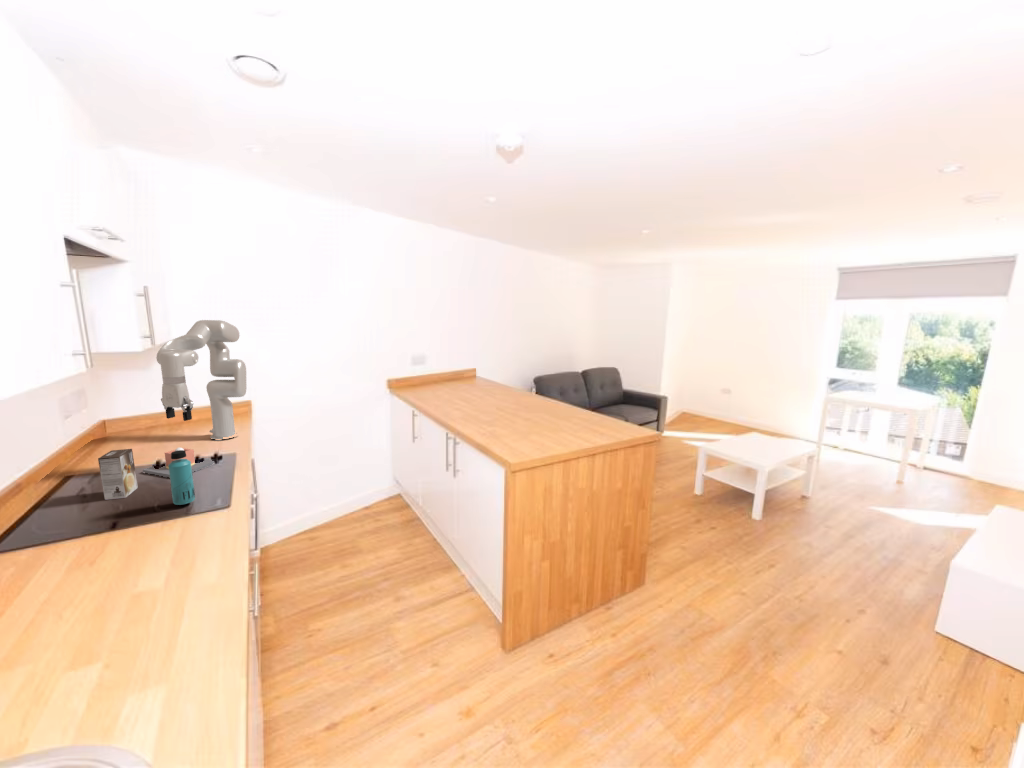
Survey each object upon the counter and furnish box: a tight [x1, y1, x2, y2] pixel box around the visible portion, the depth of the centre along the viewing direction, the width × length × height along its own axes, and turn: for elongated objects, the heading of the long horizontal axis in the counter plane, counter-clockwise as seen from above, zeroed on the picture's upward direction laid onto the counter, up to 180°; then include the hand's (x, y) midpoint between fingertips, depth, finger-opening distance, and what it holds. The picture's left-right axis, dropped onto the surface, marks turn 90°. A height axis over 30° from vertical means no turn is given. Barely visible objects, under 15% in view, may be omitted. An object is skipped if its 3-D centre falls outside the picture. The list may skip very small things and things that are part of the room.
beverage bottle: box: [168, 450, 196, 506], centre depth 143 cm, size 6×7×20 cm
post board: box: [142, 447, 214, 479], centre depth 176 cm, size 18×18×9 cm
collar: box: [164, 447, 195, 466], centre depth 176 cm, size 7×7×6 cm
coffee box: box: [97, 448, 139, 501], centre depth 150 cm, size 9×6×16 cm
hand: (179, 418), depth 177 cm, fingers open, 9 cm apart
